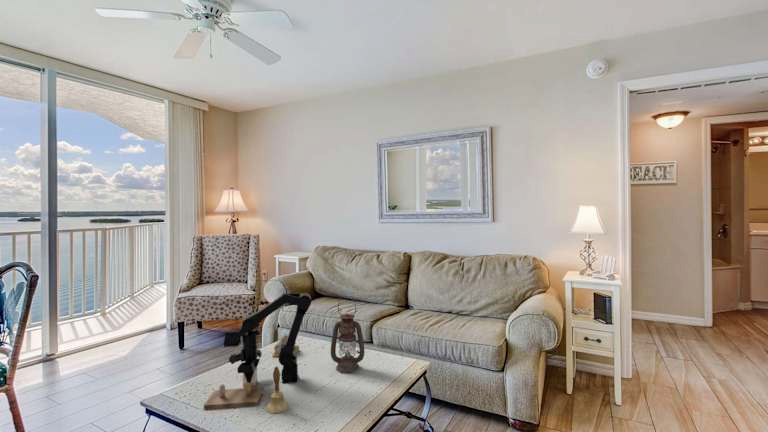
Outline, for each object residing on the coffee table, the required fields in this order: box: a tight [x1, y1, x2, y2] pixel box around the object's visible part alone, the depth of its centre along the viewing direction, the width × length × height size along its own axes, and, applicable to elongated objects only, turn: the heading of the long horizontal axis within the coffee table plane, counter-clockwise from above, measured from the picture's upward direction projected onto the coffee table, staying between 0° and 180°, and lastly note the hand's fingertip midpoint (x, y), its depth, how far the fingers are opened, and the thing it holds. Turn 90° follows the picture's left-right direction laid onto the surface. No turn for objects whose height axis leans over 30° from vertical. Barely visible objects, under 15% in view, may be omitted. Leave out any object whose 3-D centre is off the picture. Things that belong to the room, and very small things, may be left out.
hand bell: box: [265, 366, 289, 415], centre depth 142 cm, size 8×8×16 cm
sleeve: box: [242, 366, 258, 388], centre depth 162 cm, size 5×5×6 cm
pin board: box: [203, 383, 265, 410], centre depth 149 cm, size 20×12×6 cm, turn 97°
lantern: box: [330, 295, 365, 374], centre depth 177 cm, size 11×16×35 cm
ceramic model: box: [271, 334, 300, 359], centre depth 197 cm, size 14×11×10 cm
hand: (250, 380), depth 162 cm, fingers closed on sleeve, 5 cm apart
